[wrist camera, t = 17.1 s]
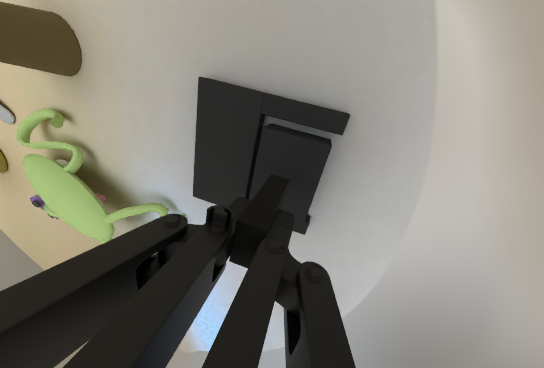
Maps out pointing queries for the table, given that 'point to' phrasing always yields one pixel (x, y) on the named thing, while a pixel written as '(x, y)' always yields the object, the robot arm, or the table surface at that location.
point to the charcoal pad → (291, 165)
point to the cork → (38, 40)
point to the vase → (2, 163)
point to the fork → (6, 115)
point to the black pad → (243, 137)
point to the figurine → (70, 185)
